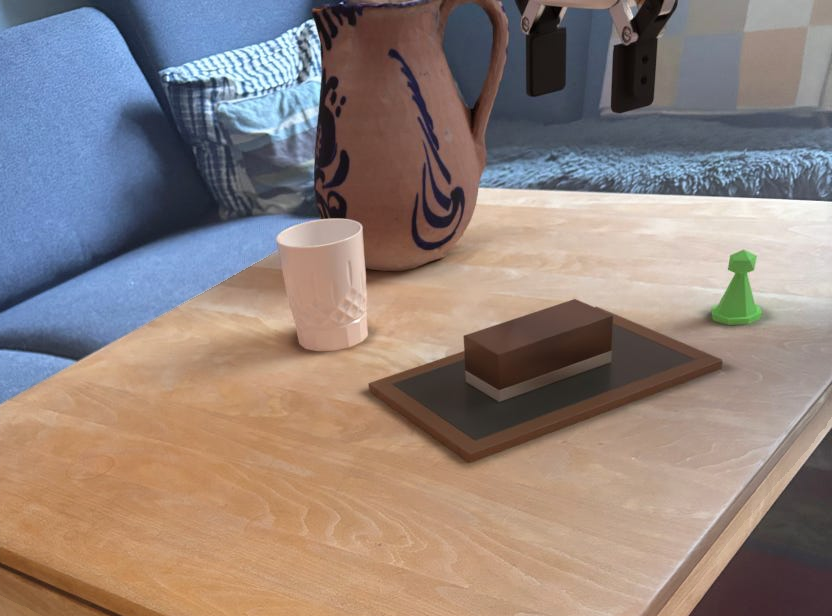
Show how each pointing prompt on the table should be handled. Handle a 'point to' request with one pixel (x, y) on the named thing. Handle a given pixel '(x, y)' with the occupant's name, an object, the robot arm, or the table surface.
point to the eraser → (538, 349)
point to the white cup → (325, 282)
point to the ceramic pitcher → (399, 127)
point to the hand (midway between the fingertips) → (586, 100)
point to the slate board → (539, 392)
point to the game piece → (738, 293)
